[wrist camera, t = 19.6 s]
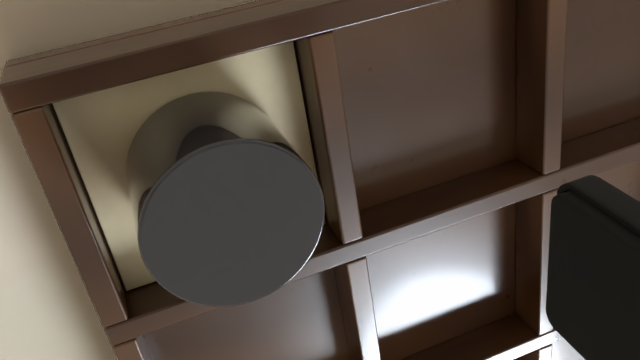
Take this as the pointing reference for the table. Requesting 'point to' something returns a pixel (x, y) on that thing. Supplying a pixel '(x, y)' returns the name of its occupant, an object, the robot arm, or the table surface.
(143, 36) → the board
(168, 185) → the dark grey cylinder
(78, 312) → the table surface
